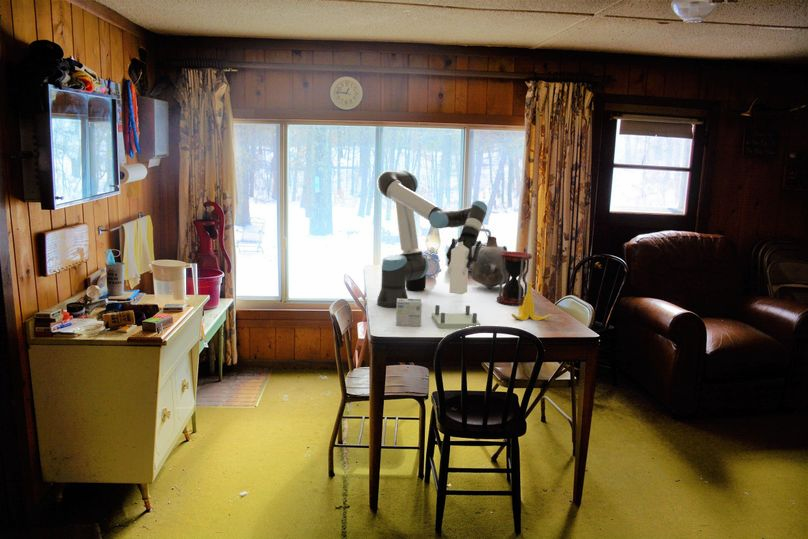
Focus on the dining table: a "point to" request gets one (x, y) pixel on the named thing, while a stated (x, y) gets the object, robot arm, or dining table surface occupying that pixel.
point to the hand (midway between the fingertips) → (456, 272)
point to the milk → (458, 269)
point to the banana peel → (528, 307)
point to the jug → (489, 265)
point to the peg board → (454, 319)
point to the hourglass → (513, 278)
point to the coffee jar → (416, 283)
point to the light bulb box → (408, 312)
